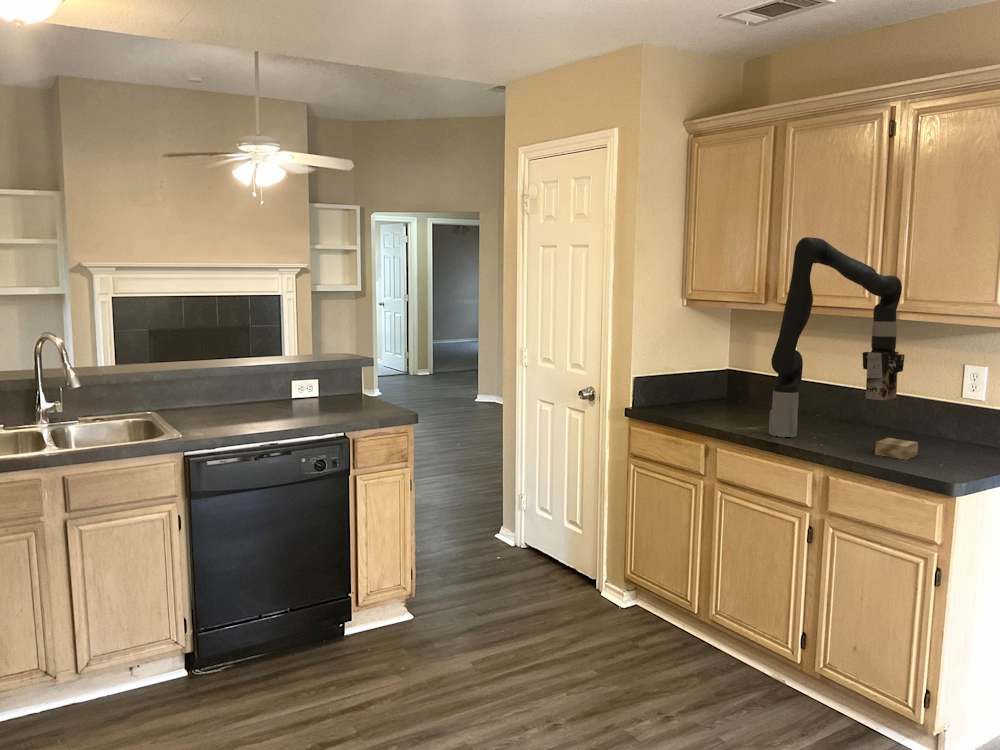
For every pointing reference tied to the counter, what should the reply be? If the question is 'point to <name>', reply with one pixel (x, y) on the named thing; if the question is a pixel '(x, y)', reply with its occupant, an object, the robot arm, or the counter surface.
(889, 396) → the coffee box
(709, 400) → the counter surface
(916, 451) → the maple block
